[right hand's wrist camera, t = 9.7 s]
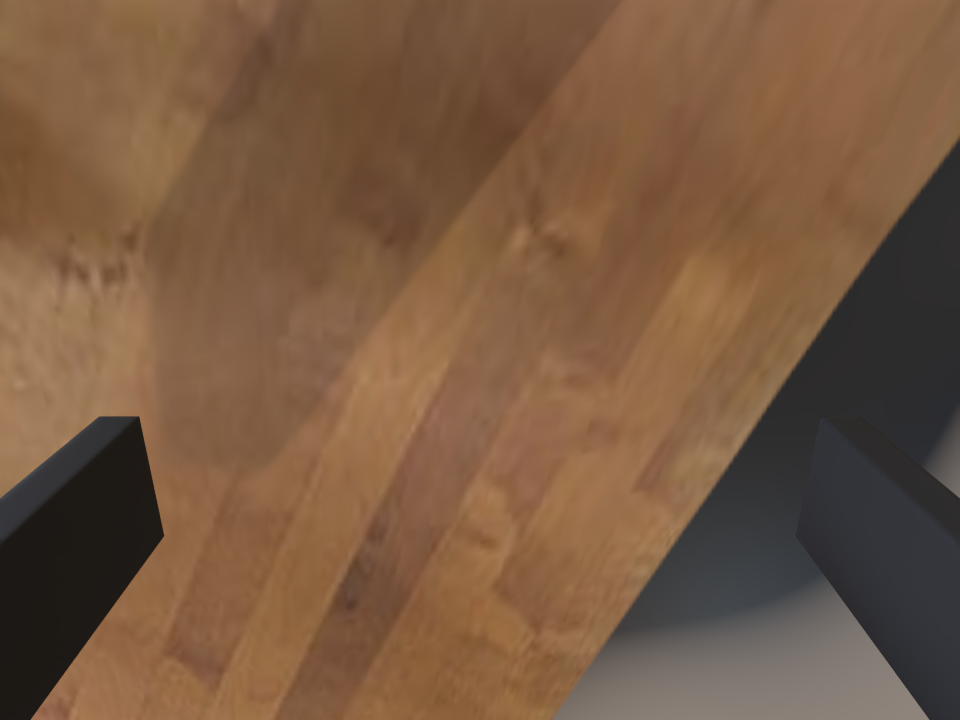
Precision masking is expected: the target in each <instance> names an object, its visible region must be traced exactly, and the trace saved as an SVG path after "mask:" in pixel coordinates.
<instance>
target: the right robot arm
mask: <svg viewBox="0 0 960 720" xmlns="http://www.w3.org/2000/svg"><path fill="white" fill-rule="evenodd" d="M163 537H164V533H163V528H162V523H161V519H160V514H159V509H158V504H157V499H156V495H155V490H154V485H153V480H152V476H151V471H150V466H149V461H148V456H147V452H146V447H145V442H144V437H143V433H142V428H141V423H140V418H139V417H98V418H97V419H96V420H95V421H93V422H92V423H91V424H90V425H89V426H87V427H86V428H85V429H84V430H82V431H81V432H80V433H79V434H78V435H76V436H75V437H74V438H73V439H72V440H70V441H69V442H68V443H67V444H66V445H64V446H63V447H62V448H61V449H59V450H58V451H57V452H56V453H55V454H53V455H52V456H51V457H50V458H49V459H47V460H46V461H45V462H44V463H43V464H41V465H40V466H39V467H38V468H36V469H35V470H34V471H33V472H32V473H30V474H29V475H28V476H27V477H26V478H24V479H23V480H22V481H21V482H20V483H18V484H17V485H16V486H15V487H13V488H12V489H11V490H10V491H9V492H7V493H6V494H5V495H4V496H3V497H1V498H0V720H31V718H32V717H33V715H34V714H35V713H36V711H37V710H38V709H39V707H40V706H41V704H42V703H43V702H44V700H45V699H46V698H47V696H48V695H49V693H50V692H51V691H52V689H53V688H54V687H55V685H56V684H57V682H58V681H59V680H60V678H61V677H62V676H63V674H64V673H65V671H66V670H67V669H68V667H69V666H70V665H71V663H72V662H73V660H74V659H75V658H76V656H77V655H78V654H79V652H80V651H81V649H82V648H83V647H84V645H85V644H86V643H87V641H88V640H89V639H90V637H91V636H92V634H93V633H94V632H95V630H96V629H97V628H98V626H99V625H100V623H101V622H102V621H103V619H104V618H105V617H106V615H107V614H108V612H109V611H110V610H111V608H112V607H113V606H114V604H115V603H116V601H117V600H118V599H119V597H120V596H121V595H122V593H123V592H124V590H125V589H126V588H127V586H128V585H129V584H130V582H131V581H132V579H133V578H134V577H135V575H136V574H137V573H138V571H139V570H140V568H141V567H142V566H143V564H144V563H145V562H146V560H147V559H148V557H149V556H150V555H151V553H152V552H153V551H154V549H155V548H156V546H157V545H158V544H159V542H160V541H161V540H162V538H163ZM796 537H797V538H798V540H799V541H800V542H801V544H802V545H803V546H804V548H805V549H806V551H807V552H808V553H809V555H810V556H811V557H812V559H813V560H814V561H815V563H816V564H817V566H818V567H819V568H820V570H821V571H822V573H823V574H824V575H825V577H826V578H827V579H828V581H829V582H830V584H831V585H832V586H833V588H834V589H835V590H836V592H837V593H838V595H839V596H840V597H841V599H842V600H843V601H844V603H845V604H846V605H847V607H848V608H849V610H850V611H851V612H852V614H853V615H854V617H855V618H856V619H857V621H858V622H859V623H860V625H861V626H862V627H863V629H864V630H865V632H866V633H867V634H868V636H869V637H870V639H871V640H872V641H873V643H874V644H875V645H876V647H877V648H878V649H879V651H880V652H881V654H882V655H883V656H884V658H885V659H886V660H887V662H888V663H889V665H890V666H891V667H892V669H893V670H894V671H895V673H896V674H897V676H898V677H899V678H900V680H901V681H902V682H903V684H904V685H905V687H906V688H907V689H908V691H909V692H910V693H911V695H912V696H913V698H914V699H915V700H916V702H917V703H918V704H919V706H920V707H921V709H922V710H923V711H924V713H925V714H926V715H927V717H928V718H929V720H960V498H959V497H957V496H956V495H955V494H954V493H953V492H951V491H950V490H949V489H948V488H947V487H945V486H944V485H943V484H942V483H940V482H939V481H938V480H937V479H936V478H934V477H933V476H932V475H931V474H930V473H928V472H927V471H926V470H925V469H924V468H922V467H921V466H920V465H919V464H917V463H916V462H915V461H914V460H913V459H911V458H910V457H909V456H908V455H907V454H905V453H904V452H903V451H902V450H900V449H899V448H898V447H897V446H896V445H894V444H893V443H892V442H891V441H890V440H888V439H887V438H886V437H885V436H883V435H882V434H881V433H880V432H879V431H877V430H876V429H875V428H874V427H873V426H871V425H870V424H869V423H868V422H867V421H865V420H864V419H863V418H862V417H821V418H820V423H819V428H818V433H817V437H816V442H815V447H814V452H813V456H812V461H811V466H810V471H809V476H808V480H807V485H806V490H805V495H804V500H803V505H802V509H801V514H800V519H799V523H798V528H797V533H796Z"/></svg>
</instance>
